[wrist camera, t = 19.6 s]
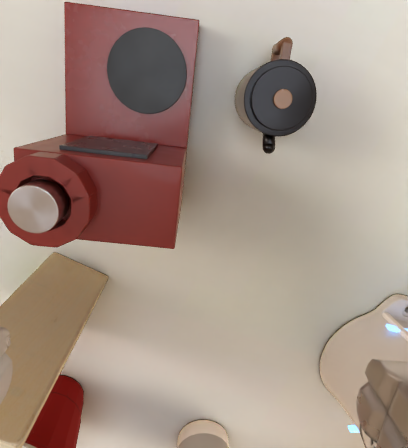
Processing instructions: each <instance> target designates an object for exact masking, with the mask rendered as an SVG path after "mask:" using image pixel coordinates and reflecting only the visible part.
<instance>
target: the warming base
mask: <svg viewBox="0 0 408 448" xmlns="http://www.w3.org/2000/svg"><path fill="white" fill-rule="evenodd" d="M198 33H199V20H195V19H188V18H180V17H173V16H166V15H158V14H151V13H144V12H136V11H129V10H122V9H114V8H107V7H100V6H92V5H85V4H78V3H70V2H65V92H66V134H70V135H79V136H86V137H83V138H80V139H77V140H74V141H71V142H68V143H65V144H62V145H59V149H60V150H68V151H77V152H86V153H94V154H103V155H112V156H121V157H130V158H139V159H148V158H149V157H150V155H151V154H152V153H153V152H154V151H155V149H156V148H157V147H158V145H165V146H174V147H182V148H187V144H188V134H189V124H190V114H191V103H192V93H193V83H194V73H195V63H196V53H197V43H198Z"/></svg>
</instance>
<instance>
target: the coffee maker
mask: <svg viewBox="0 0 408 448" xmlns="http://www.w3.org/2000/svg"><path fill="white" fill-rule="evenodd" d="M83 137H86V136H79V135H70V134H66V135H62V136H58V137H54V138H50V139H46V140H43V141H39V142H35V143H31V144H27V145H23V146H19V147H15V148H14V162H12V163H10V164H8V165H6V166H5V167H4V169H3V171H2V173H1V174H0V218H1V219H2V221H3V222H4V224H5V225H6V227H7V228H8V230H9V231H11V233H13V234H14V235H16V236H18V237H19V238H21V239H23V240H24V241H26V242H28V243H29V244H31V245H37V246H47V247H59V246H61V245H64V244H66V243H68V242H71V241H73V240H75V239H80V240H90V241H100V242H110V243H120V244H130V245H140V246H150V247H160V248H170V249H174V248H175V243H176V236H177V229H178V223H179V216H180V210H181V203H182V194H183V184H184V174H185V164H186V154H187V148H182V147H174V146H165V145H158V147H157V148H156V149H155V151H154V152H153V153H152V154H151V155H150V157H149V158H148V159H139V158H130V157H121V156H112V155H103V154H94V153H86V152H77V151H68V150H60V149H59V145H62V144H65V143H68V142H71V141H74V140H77V139H80V138H83ZM37 179H44V180H49V181H52V182H54V183H55V184H57V185H58V186H59V187H60V188H61V189H62V190H63V191H64V192H65V194H66V196H67V199H68V211H67V213H66V215H65V217H64V218H63V219H62V220H61V221H60V222H58V223H57V224H56V225H55V226H54V227H53V228H52V229H50V230H49V231H47V232H44V233H30V232H27V231H24V230H23V229H21V228H19V227H18V226H17V225H16V224H15V223H14V222H13V221H12V219H11V217H10V215H9V213H8V199H9V197H10V195H11V193H12V192H13V191H14V190H16V189H17V188H19V187H21V186H23V185H25V184H27V183H29V182H31V181H34V180H37Z"/></svg>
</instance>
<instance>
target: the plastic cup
mask: <svg viewBox="0 0 408 448" xmlns="http://www.w3.org/2000/svg"><path fill="white" fill-rule="evenodd" d="M82 407H83V389H82V387H81V385H80V384H79V383H78V382H77V381H75V380H74V379H72V378H70V377H67V376H63V375H59V377H58V379H57V381H56V383H55V384H54V386H53V388H52V390H51V392H50V394H49V396H48V398H47V400H46V402H45V404H44V406H43V408H42V410H41V412H40V414H39V416H38V418H37V419H36V421H35V423H34V425H33V427H32V429H31V431H30V433H29V435H28V437H27V439H26V441H25V443H24V445H23V447H22V448H76V444H77V438H78V433H79V428H80V423H81V413H82Z"/></svg>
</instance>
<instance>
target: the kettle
mask: <svg viewBox="0 0 408 448" xmlns="http://www.w3.org/2000/svg"><path fill="white" fill-rule="evenodd" d="M292 44H293V43H292V40H291V38H289V37H285V38H283V39H282V40H281V41H279V42H278V43H276V44H275V45H274V46H273V48H272V55H271V61H270V62H268V63H266V64H264V65H262V66H260V67H258V68H256V69H255V70H253V71H251V72H249V73H248V74H247V75H246V76H245V77H244V78H243V79H242V80H241V82H240V83H239V85H238V87H237V90H236V94H235V107H236V111H237V113H238V115H239V117H240V118H241V120H242V121H243V122H244V123H245V124H247V125H248V126H250V127H252V128H254V129H256V130H258V131H260V132H262V133H263V150H264V152H265V153H268V154H270V153H272V152H273V151H274V150H275V136H285V135H289V134H292V133H294V132H296V131H297V130H299V129H300V128H301V127H302V126H304V124H305V123H306V122H307V121H308V120H309V118H310V117H311V115H312V113H313V110H314V108H315V104H316V87H315V83H314V80H313V78H312V76H311V74H310V73H309V72H308V70H307V69H306V68H305V67H303V66H302V65H301V64H299V63H297V62H295V61H292V60H290V55H291V49H292Z"/></svg>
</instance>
